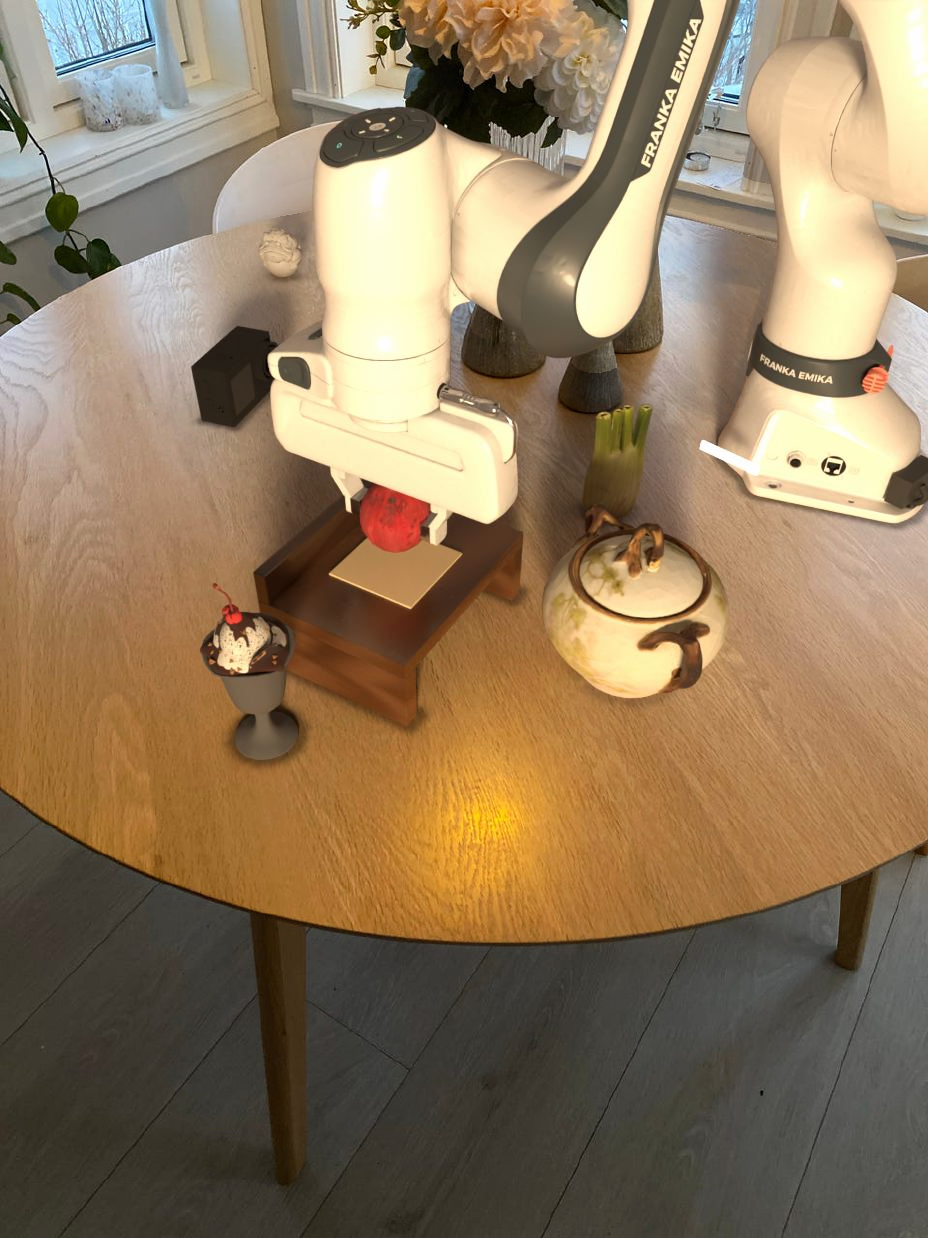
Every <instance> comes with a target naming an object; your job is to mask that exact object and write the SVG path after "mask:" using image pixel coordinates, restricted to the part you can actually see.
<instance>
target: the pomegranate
mask: <svg viewBox="0 0 928 1238" xmlns="http://www.w3.org/2000/svg"><path fill="white" fill-rule="evenodd" d="M430 513H431V504H430V503H427V502H425V501H422V500H419V499H416V498H414V497H411V496H408V495H406V494H403V493H400V492H397V491H395V490H392V489H389V488H387V487H384V486H381V485H378V484H376V483H374V484H373V485H371V486H370V487H369V489H368V490H367V492H366V493H365V495H364V497H363V499H362V502H361V505H360V523H361V527H362V531H363V532H364V533H365V535H366V536H367V537H368V539H369V540H370V541H371V543H372V544H373V545H375V546H376V547H378V548H380V549H382V550H384V551H386V552H391V553H400V552H405V551H407V550H409V549H411V548H413V547H415V546H417V545H418V544H419V543H420V542H421V541H422V540H421V539H420V534H421V532H420V530H419V524H420V523H421V522H422V521H423V520H424V519H427V516H428V515H429V514H430Z"/></svg>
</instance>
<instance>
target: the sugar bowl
mask: <svg viewBox="0 0 928 1238" xmlns="http://www.w3.org/2000/svg"><path fill="white" fill-rule="evenodd" d="M604 522H606V523H607V524H608V525H609V526H610V527H612V528H613V530H612V531H608V532H605V533H601V534H600V531H601V529H602V526H603V524H604ZM584 532H585V533H584V534H583V535H581V536H580V537H579V538H577V539H576V540H575V543H574V544H573V545H572V547H571V549H570V550H569V551H567V552H566V554H564V555H563V556H561V558H560V559H559V560H558V562H557V563H556V565H555V566H554V567H553V568H552V570H551V572H550V573H549V575H548V576H547V579H546V582H545V585H544V588H543V592H542V597H541V615H542V620H543V626H544V630H545V632H546V635H547V637H548V638H549V640H550V642H551V644H552V645H553V647H554V648H555V650H556V652H557V653H558V654H559V655H560V656H561V658H562V660H563V661H565V662H566V664H568V666H570V667H571V669H573V670H574V671H575V672H576V673H578V674H579V675H580V676H582V678H583V679H584V680H585V681H586V682H588V684H590V685H591V686H593V687H594V688H595V689H597V690H599V691H600V692H603V693H604V694H608V695H610V696H614V697H618V698H625V699H637V698H638V699H639V698H646V697H649V696H653V695H655V694H659V693H660V694H670V693H673V692H674V691H675V692H676V691H677V690H685V689H690V688H692V687H693V686H695V685H696V683H697V682H698V681H699V680H700V678H701V675H702V673H703V670H704V669H705V668H706V667H707V666H708V665H709V664H710V663H711V662H712V661H713V660H714V659H715V657H716V656H717V655H718V653H719V652H720V650H721V648H722V646H723V644H724V642H725V640H726V638H727V634H728V631H729V624H730V617H731V615H730V614H731V613H730V603H729V599H728V595H727V592H726V591H727V590H726V588H725V586H724V584H723V582H722V579H721V578H720V576H719V575H718V573H717V571H715V569H714V568H713V566H712V565H710V564H709V562H708V561H706V559H705V558H703V557H702V556H701V555H700V554H699V552H697V551H696V550H695V549H694V548H693V547H691V546H690V545H689V544H687V543H686V542H684V541H682V540H680V539H679V538H676V537H674V536H673V535H670V534H668V533H665V531H664V528H663V527H661V526H660V525H659V524H658V523H652V522H651V523H650V522H645V523H641V524H640V525H638V526H637V527H635V526H633V525H630V524H628V523H625V522H623V521H622V520H620V519H617V518H616V517H614V516H613V515H612V514H611V513H610V512H609V511H608V510H607V509H606V507H605V506H604V505H601V504H593V505H591V506H590V507H589V508H588V510H586V511H585V513H584Z"/></svg>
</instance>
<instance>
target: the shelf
mask: <svg viewBox="0 0 928 1238" xmlns="http://www.w3.org/2000/svg"><path fill="white" fill-rule="evenodd" d="M360 479H361V481H362V483H363V485H364V487H365V488H367V489H369V487H370V486H371V485H373V484H374V483H373V482H370V481H368V480H365V479H362V478H360ZM432 513H433V512H432ZM435 514H437V513H435ZM524 535H525V533H524V531H522V530H519V529H516V528H513V527H511V526H508V525H505V524H502V523H500V522H497V521H493V522H492V523H489V524H485V523H482V522H479V521H476V520H474V519H471V518H468V517H465V516H463V515H460V514H457V513H455V512H453V513H452V514H451V516H450V517H449V518H448V519H447V534H446V536H445V538H444V539H443V540H442V541H441V542H440V543H439V544H438V545H433V544H431V543H428V542H426V541H423V540H422V541H421V542H420V543H419V544H418V545H417V546H415V547H413V548H411V549H409V550H407V551H405V552H400V553H391V552H386V551H384V550H382V549H380V548H378V547H376V546H375V545H373V544H372V543H371V541H370V540H369V539H368V537H367V536H366V535H365V533H364V532H363V531H362V527H361V523H360V516H358V515H356V514H353V513H350V512H348V511H347V510H346V502H345V495H343V494H342V495H341V496H340V497H339V498H338V499H336V500H335V501H334V502H333V503H332V504H331V505H329V506H328V507H327V508H326V509H325V510H324V511H323V512H322V513H320V514H319V515H317V516H316V517H315V518H314V519H313V520H312V521H310V522H309V524H308V525H306V526H305V527H304V528H303V529H301V530H300V531H299V532H298V533H297V534H295V535H294V536H293V537H292V538H291V539H290V540H288V541H287V542H286V543H285V544H284V545H283V546H281V548H279V549H277V551H276V552H275V553H274V554H272V555H271V556H270V557H269V558H268V559H266V560H265V561H264V562H263V563H261V564H260V565H259V566H258V567H257V568H256V569H254V570H253V572H252V575H253V579H254V585H255V590H256V591H255V592H256V596H257V602H258V604H257V605H258V609H259V613H263V614H267V615H270V616H273V617H275V618H277V619H279V620H281V621H282V622H284V623H285V624H287V625H288V626H289V627H291V629H292V630H293V632H294V634H295V649H294V651H293V654H292V656H291V658H290V660H289V662H288V664H287V665H286V671H289V672H290V673H292V674H295V675H297V676H299V677H301V678H303V679H305V680H307V681H309V682H310V683H311V682H312V683H314V684H315V685H317V686H320V687H322V688H324V689H327V690H328V691H331V692H332V693H335V694H337V695H339V696H341V697H343V698H345V699H347V700H349V701H352V702H354V703H356V704H358V705H360V706H362V707H365V708H366V709H368V710H370V711H372V712H375V713H377V714H379V715H381V716H383V717H386V718H387V719H389V720H392V721H394V722H396V723H398V724H400V725H402V726H405V727H406V728H407V727H408V726H409V725H411V723H412V721H413V720H414V719H415V718H416V717H417V715H418V710H417V706H418V703H417V673H416V672H417V670H416V668H417V667H418V666H419V664H420V663H421V662H422V661H423V660H424V659H425V658H426V656H427V655H429V653H430V652H431V651H432V649H434V647H435V646H436V645H437V644H438V643H439V641H440V640H441V639H442V638H443V637H444V636H445V634H447V633H448V631H449V630H450V629H451V628H452V627H453V626H454V624H456V622H457V621H458V620H459V619H460V617H461V616H462V615H463V614H464V613H465V612H466V611H467V609H468V608H469V607H471V605H472V604H473V603H474V602H475V600H476V599H477V598H479V596H480V595H481V593H483V591H486V592H488V593H490V594H493V595H495V596H498V597H501V598H502V599H506V600H509V601H510V602H511V601H512V602H513V600H514V599H515V598H516V597H517V595H518V594H519V593H520V588H521V587H520V586H521V575H522V574H521V572H522V562H523V561H522V560H523V547H524V546H523V545H524Z"/></svg>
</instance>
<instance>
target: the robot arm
mask: <svg viewBox="0 0 928 1238" xmlns="http://www.w3.org/2000/svg"><path fill="white" fill-rule="evenodd" d="M626 2H627V23H626V30H625V31H626V32H625V37H624V40H623V44H622V47H621V49H620V53H619V56H618V59H617V63H616V64H615V65H616V66H615V68H614V71H613V75H612V76H611V80H610V83H609V86H608V89H607V93H606V95H605V99H604V102H603V104H602V107H601V111H600V113H599V117H598V119H597V123H596V127H595V128H594V131H593V134H592V137H591V141H590V143H589V147H588V149H587V152H586V156H585V158H584V161H583V163H582V165H581V167H580V169H579V170H578V172H577V173H576V174H575V175H574V176H573V177H572V178H568V177H566V176H564V175H561V174H559V173H557V172H555V171H553V170H551V169H548V168H546V167H545V166H543V165H542V164H540V163H538V162H537V161H535V160H533V159H531V158H529V157H526V156H525V155H522V154H520V153H518V152H516V151H513V150H510V149H509V148H507V147H504V146H501V145H498V144H493V143H487V142H481V141H475V140H471V139H469V138H467V137H464V136H462V135H461V134H458V133H456V132H454V131H453V130H450V129H448V128H447V127H445V126H444V125H442V124H441V123H439V122H438V120H437V119H436V118H435V117H434V116H433V115H432V114H430V113H428V112H427V111H425V110H422V109H420V108H416V107H415V108H414V107H408V106H395V107H394V106H393V107H392V106H391V107H390V106H389V107H382V108H381V107H377V108H371V109H367V110H363V111H359V112H357V113H355V114H352V115H350V116H348V117H347V118H345V119H343V120H341V121H340V122H338V123H337V124H336V125H335V126H334V127H333V128H331V129H330V130H329V131H328V132H327V133H326V134H325V136H324V137H323V139H322V141H321V143H320V145H319V147H318V151H317V153H316V157H315V162H314V168H313V177H312V195H311V196H312V197H311V198H312V199H311V200H312V201H311V203H312V205H311V207H312V232H313V233H312V235H313V247H314V258H315V259H314V260H315V271H316V275H317V278H318V281H319V283H320V286H321V288H322V291H323V294H324V312H323V317H322V319H321V320H319V321H317V322H314V323H313V324H311V325H309V326H307V327H305V328H303V329H301V330H300V331H298V332H297V333H295V334H293V335H292V336H290V337H288V338H287V339H285V340H284V341H283V342H282V343H280V344H278V347H276V348H275V349H274V350H273V351H272V352H270V353H269V354H268V366H269V370H270V373H271V375H272V376H273V377H274V378H275V379H274V381H273V382H272V385H271V390H270V392H269V395H270V396H269V398H270V399H269V400H270V410H271V411H270V412H271V418H272V425H273V426H272V427H273V431H274V435H275V437H276V439H277V441H278V442H279V444H280V445H281V447H283V449H284V450H285V451H287V452H288V453H291V454H295V455H297V456H299V457H302V458H305V459H307V460H310V461H312V462H316V463H319V464H321V465H323V466H327V467H329V468H330V469H329V470H330V476H331V478H332V479H333V481H334V482H335V484H336V486H338V489H339V490H340V492H341V493H342V496H343V495H345V502H346V510H347V511H348V512H350V513H353V514H356V515H358V516H360V505H361V502H362V499H363V497H364V495H365V493H366V492H367V490H368V489H367V488H365V487H364V485H363V483H362V481H361V479H365V480H368V481H370V482H373V483H376V484H378V485H381V486H384V487H387V488H389V489H392V490H395V491H397V492H400V493H403V494H406V495H408V496H411V497H414V498H416V499H419V500H422V501H425V502H427V503H430V504H431V513H430V514H429V515H428V516H427V519H424V520H423V521H422V522H421V523H420V524H419V530H420V532H421V534H420V539H421V540H423V541H426V542H428V543H431V544H433V545H438V544H439V543H440V542H441V541H442V540H443V539H444V538H445V536H446V534H447V519H448V518H449V517H450V516H451V514H452V513H453V512H455V513H457V514H460V515H463V516H465V517H468V518H471V519H474V520H476V521H479V522H482V523H485V524H489V523H492V522H493V521H494V522H496V521H497V520H498V519H499V518H501V517H502V516H503V515H504V514H506V512H507V511H508V510H509V509H510V508H511V507H512V506H513V504H514V503H515V502H516V500H517V498H518V495H519V494H518V493H519V471H518V458H517V450H518V449H517V448H518V436H519V428H518V424H517V422H516V420H514V418H512V416H511V415H510V414H509V413H508V412H507V411H505V410H504V409H503V408H502V405H501V403H500V402H498V401H497V400H494V399H491V398H489V397H486V396H485V397H480V396H478V395H475V394H472V393H471V392H468V391H465V390H463V389H461V388H457V387H453V386H452V313H453V310H454V309H455V308H456V307H458V306H459V305H462V304H465V303H470V302H473V303H474V304H475V305H477V306H479V307H481V308H482V309H484V310H485V311H487V312H488V313H490V314H492V315H493V316H495V317H496V318H498V319H499V320H500V321H503V323H504V324H505V326H507V327H508V328H509V329H510V330H511V331H513V332H514V333H515V334H516V335H517V336H518V337H520V338H521V339H522V340H523V341H524V342H525V343H527V344H528V345H529V347H531V348H533V349H534V350H535V351H536V352H538V354H541V355H543V356H545V357H548V358H552V359H568V358H573V357H578V356H582V355H584V354H587V353H590V352H592V351H595V350H598V349H599V348H601V347H603V346H605V345H607V344H608V343H610V342H611V341H613V340H615V339H616V338H617V337H619V336H620V335H621V334H623V333H624V332H625V331H626V330H627V329H628V328H629V327H630V326H631V324H632V323H633V322H634V321H635V320H636V318H637V316H638V315H639V313H640V312H641V309H642V307H643V305H644V304H645V301H646V298H647V296H648V293H649V290H650V287H651V283H652V281H653V276H654V273H655V266H656V260H657V255H658V250H659V245H660V241H661V235H662V231H663V227H664V224H665V219H666V216H667V213H668V209H669V207H670V204H671V201H672V198H673V196H674V192H675V190H676V186H677V185H678V181H679V178H680V174H681V173H682V170H683V167H684V165H685V161H686V158H687V156H688V153H689V150H690V147H691V145H692V143H693V139H694V138H695V137H694V136H695V133H696V131H697V128H698V126H699V122H700V120H701V118H702V117H701V116H702V115H703V111H704V108H705V105H706V103H707V100H708V97H709V95H710V92H711V89H712V86H713V84H714V80H715V77H716V75H717V73H718V69H719V66H720V64H721V61H722V58H723V55H724V52H725V50H726V46H727V43H728V41H729V37H730V35H731V31H732V29H733V26H734V23H735V20H736V17H737V13H738V10H739V8H740V3H741V0H626ZM837 2H838V3H839V4H840V6H841V7H842V9H844V11H845V12H846V14H847V15H848V16H849V18H850V19H851V21H852V22H853V24H854V26H855V29H856V31H857V33H858V35H859V38H860V40H859V39H854V38H851V37H847V36H839V35H838V36H835V35H834V36H833V35H832V36H831V35H829V36H828V35H827V36H826V35H825V36H824V35H823V36H822V35H820V36H802V37H801V36H799V37H794V38H791V39H789V40H786V41H785V42H783V43H782V44H780V45H779V46H778V47H777V48H775V49H774V50H773V52H772V53H771V54H769V56H768V57H766V59H765V61H764V62H763V63H762V65H761V66H760V68H759V69H758V71H757V73H756V75H755V77H754V79H753V81H752V83H751V86H750V90H749V91H748V96H747V100H746V109H745V119H746V120H745V121H746V127H747V132H748V135H749V138H750V140H751V141H752V143H753V144H754V146H755V148H756V149H757V151H758V153H759V155H760V157H761V159H762V161H763V164H764V166H765V169H766V172H767V176H768V179H769V183H770V187H771V191H772V198H773V203H774V204H773V205H774V211H775V222H776V251H775V260H774V266H773V270H772V276H771V280H770V286H769V290H768V296H767V300H766V304H765V308H764V314H763V317H762V319H761V320H760V323H758V324H757V326H756V328H755V331H754V333H753V336H752V339H751V342H750V347H749V352H748V355H747V360H746V371H745V376H746V378H745V382H744V384H743V387H742V389H741V393H740V395H739V397H738V400H737V402H736V404H735V407H734V409H733V411H732V413H731V414H730V415H731V416H730V418H729V419H728V421H727V423H726V425H725V426H724V428H723V429H722V430H721V432H720V434H719V436H718V439H717V445H715V444H713V443H710V442H708V441H707V440H704V439H702V440H701V442H700V446H699V450H701V451H703V452H705V453H708V454H709V455H712V456H714V457H715V458H718V459H720V460H722V461H724V462H725V463H726V464H727V465H728V466H729V468H731V469H732V470H733V471H735V472H736V473H737V474H738V475H739V476H740V477H741V479H742V482H743V484H744V485H745V487H746V489H747V491H749V493H751V494H752V495H754V496H757V497H761V498H766V499H770V500H776V501H781V502H785V503H789V504H795V505H799V506H804V507H810V508H814V509H819V510H824V511H830V512H835V513H839V514H844V515H848V516H853V517H858V518H862V519H863V518H864V519H868V520H873V521H877V522H878V521H879V522H882V523H883V522H884V523H888V524H899V523H902V522H904V521H907V520H909V519H911V518H913V517H914V516H915V515H916V514H917V513H919V511H920V510H921V509H922V508H923V506H924V505H925V504H926V503H927V502H928V455H926V454H925V453H924V452H923V451H921V443H922V427H921V421H920V419H919V417H918V415H917V413H915V411H914V410H913V409H912V408H911V407H910V406H909V405H908V404H907V403H906V402H905V401H904V400H903V399H902V398H901V397H900V396H899V394H898V393H897V392H896V391H895V390H894V389H893V388H892V387H891V386H890V384H889V383H888V380H889V371H890V369H891V365H892V361H893V359H892V356H893V354H894V345H893V344H891V345H890V346H889V348H888V350H886V348H885V347H884V346H883V345H882V343H881V342H880V341H879V340H878V335H879V333H880V329H881V327H882V324H883V320H884V317H885V314H886V311H887V308H888V305H889V302H890V299H891V297H892V294H893V290H894V287H895V284H896V281H897V277H898V260H897V255H896V252H895V250H894V248H893V246H892V244H891V243H890V241H889V240H888V237H886V235H885V233H884V232H883V230H882V229H881V227H880V224H879V221H878V219H877V215H876V211H875V205H874V203H878V204H881V205H882V206H885V207H888V208H890V209H893V210H895V211H898V212H901V213H904V214H906V215H912V216H919V217H925V218H926V217H927V218H928V0H837ZM432 512H433V513H432ZM435 513H437V514H435Z"/></svg>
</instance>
